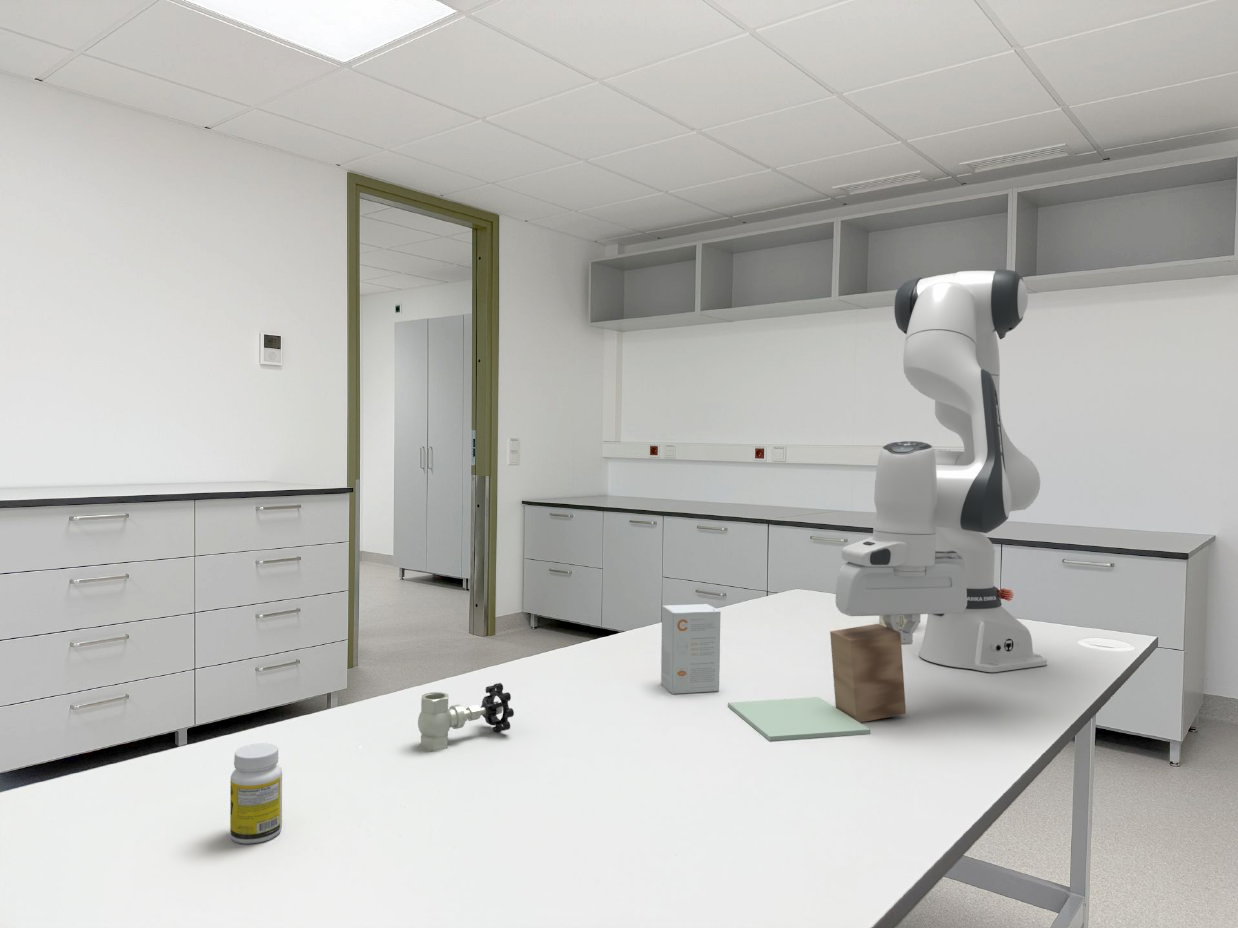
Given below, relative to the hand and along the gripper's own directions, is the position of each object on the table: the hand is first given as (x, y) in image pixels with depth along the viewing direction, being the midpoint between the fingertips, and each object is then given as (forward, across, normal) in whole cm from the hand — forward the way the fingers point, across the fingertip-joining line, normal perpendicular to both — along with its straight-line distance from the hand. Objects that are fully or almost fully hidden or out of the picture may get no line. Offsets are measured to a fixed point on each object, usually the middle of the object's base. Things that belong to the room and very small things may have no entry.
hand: (900, 643), depth 126 cm
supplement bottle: (+11, +86, +21) cm, 89 cm away
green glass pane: (+10, +16, 0) cm, 20 cm away
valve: (+11, +64, -2) cm, 65 cm away
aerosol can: (+10, -33, -52) cm, 62 cm away
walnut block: (+10, +4, 0) cm, 11 cm away
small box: (+11, +26, -18) cm, 34 cm away
